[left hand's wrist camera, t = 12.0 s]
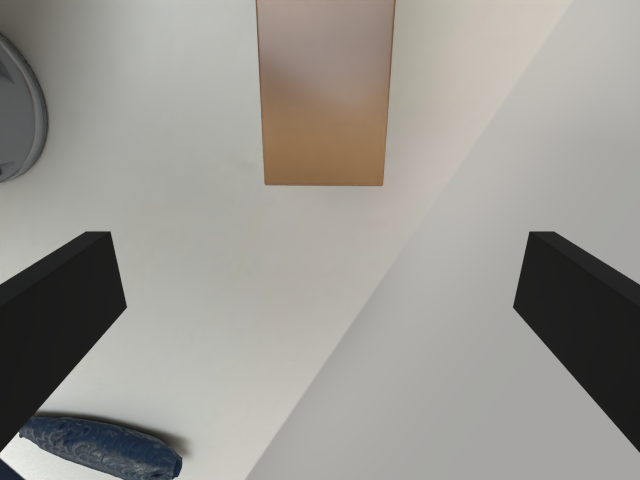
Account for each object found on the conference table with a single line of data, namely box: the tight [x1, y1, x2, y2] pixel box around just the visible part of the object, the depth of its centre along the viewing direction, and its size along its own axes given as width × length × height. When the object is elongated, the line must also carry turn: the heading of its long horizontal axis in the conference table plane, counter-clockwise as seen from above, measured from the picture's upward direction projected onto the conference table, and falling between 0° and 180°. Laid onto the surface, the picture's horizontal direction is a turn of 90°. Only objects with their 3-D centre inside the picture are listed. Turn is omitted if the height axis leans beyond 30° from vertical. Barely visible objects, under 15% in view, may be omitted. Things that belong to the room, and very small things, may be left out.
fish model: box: [19, 416, 182, 480], centre depth 48 cm, size 7×21×5 cm, turn 76°
